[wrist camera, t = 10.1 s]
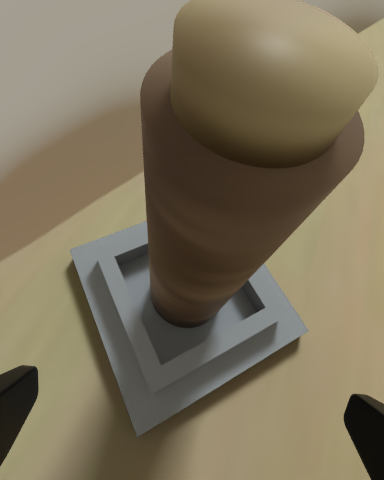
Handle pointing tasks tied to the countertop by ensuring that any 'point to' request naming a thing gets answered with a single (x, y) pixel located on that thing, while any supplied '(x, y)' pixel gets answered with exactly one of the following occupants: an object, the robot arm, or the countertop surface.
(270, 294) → the seat dish
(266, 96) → the pepper mill
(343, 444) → the countertop surface
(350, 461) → the countertop surface
